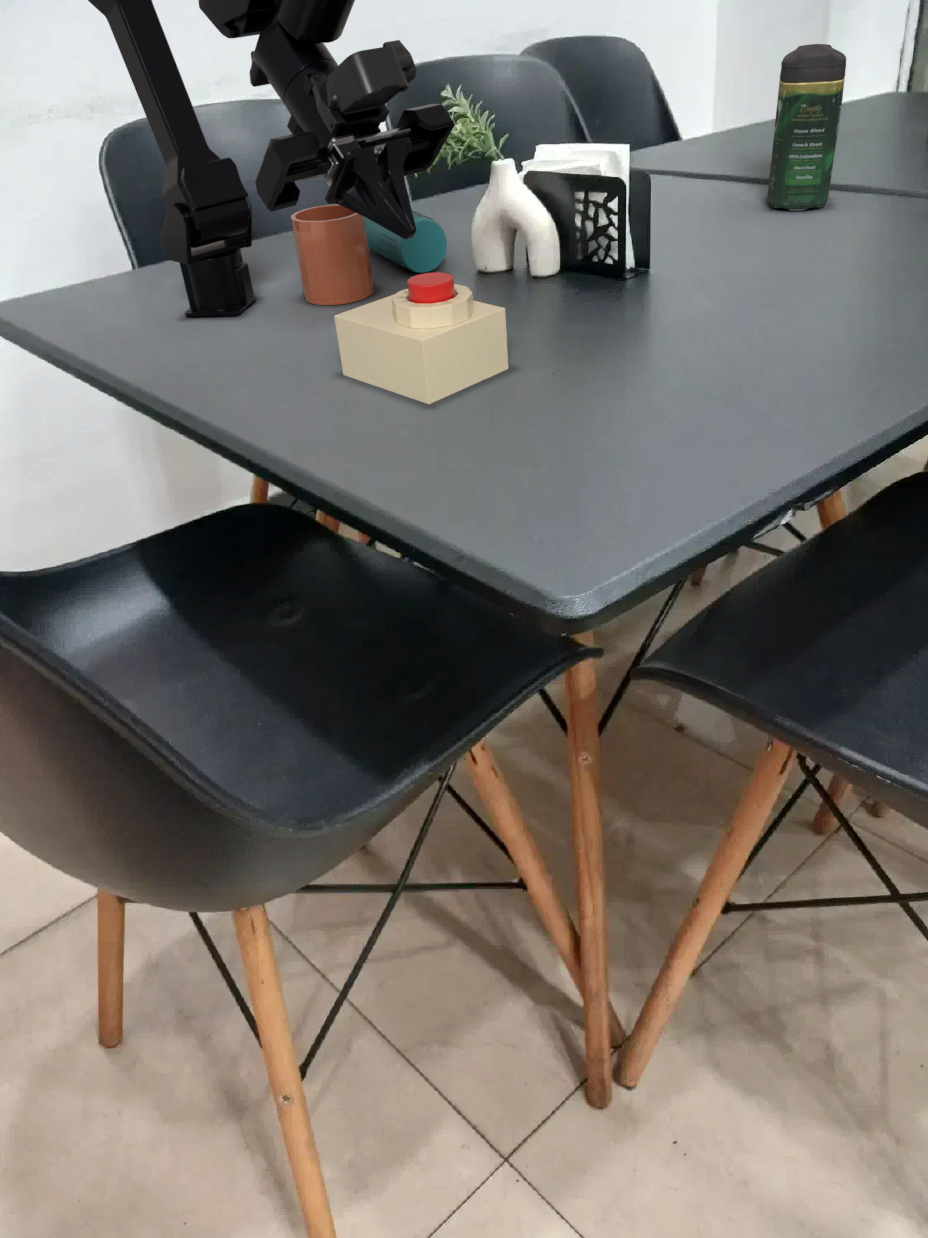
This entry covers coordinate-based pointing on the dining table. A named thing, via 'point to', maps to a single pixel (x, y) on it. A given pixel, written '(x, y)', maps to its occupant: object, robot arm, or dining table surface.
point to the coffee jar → (806, 127)
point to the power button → (431, 288)
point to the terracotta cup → (332, 255)
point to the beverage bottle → (410, 244)
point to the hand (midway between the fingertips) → (411, 235)
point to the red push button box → (423, 344)
